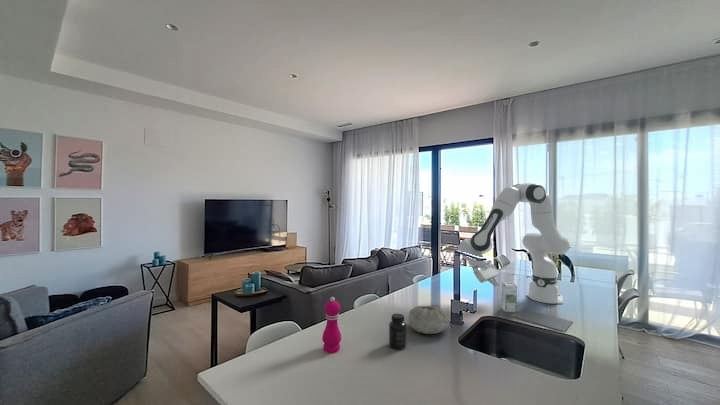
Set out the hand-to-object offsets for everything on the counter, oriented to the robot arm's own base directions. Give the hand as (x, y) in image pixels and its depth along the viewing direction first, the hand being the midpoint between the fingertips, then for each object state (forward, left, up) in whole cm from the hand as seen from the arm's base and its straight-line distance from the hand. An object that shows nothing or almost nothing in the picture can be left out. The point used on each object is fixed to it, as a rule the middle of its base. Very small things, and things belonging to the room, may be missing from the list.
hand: (497, 285), depth 160 cm
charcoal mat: (0, +22, -12) cm, 25 cm away
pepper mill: (+95, -24, -12) cm, 99 cm away
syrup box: (0, +6, -12) cm, 14 cm away
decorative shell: (+53, -9, -12) cm, 55 cm away
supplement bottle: (+74, -9, -12) cm, 76 cm away
